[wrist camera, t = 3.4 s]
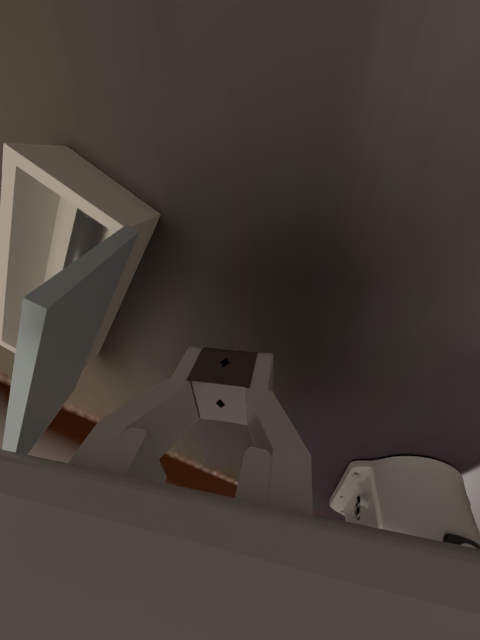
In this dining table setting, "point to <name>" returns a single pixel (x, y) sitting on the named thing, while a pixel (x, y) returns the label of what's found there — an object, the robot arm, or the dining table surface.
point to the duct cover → (60, 337)
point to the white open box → (59, 226)
